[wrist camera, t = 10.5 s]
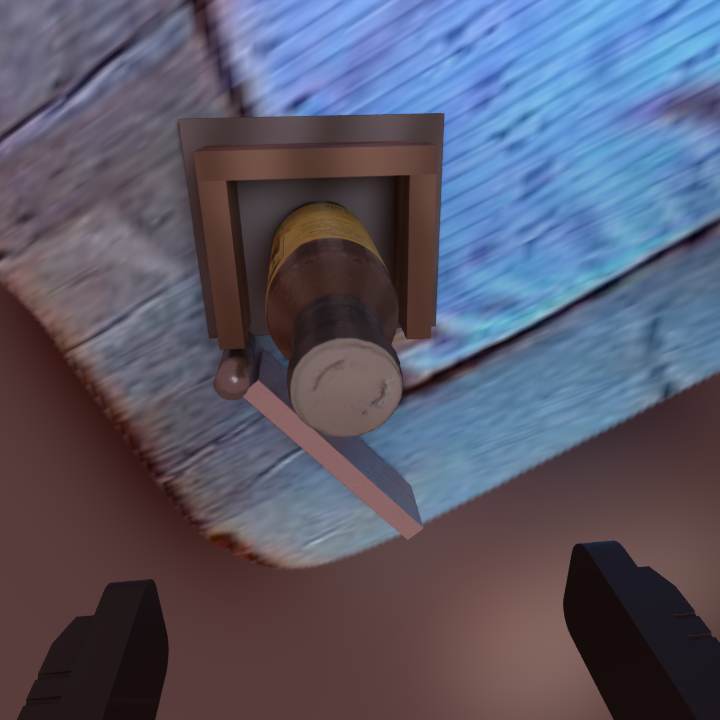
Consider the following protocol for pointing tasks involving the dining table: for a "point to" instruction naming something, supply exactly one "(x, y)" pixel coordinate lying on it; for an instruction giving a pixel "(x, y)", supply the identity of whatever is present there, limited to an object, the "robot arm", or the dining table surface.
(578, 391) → the dining table surface
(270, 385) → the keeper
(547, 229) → the dining table surface
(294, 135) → the cradle
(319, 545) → the dining table surface
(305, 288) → the sauce bottle
